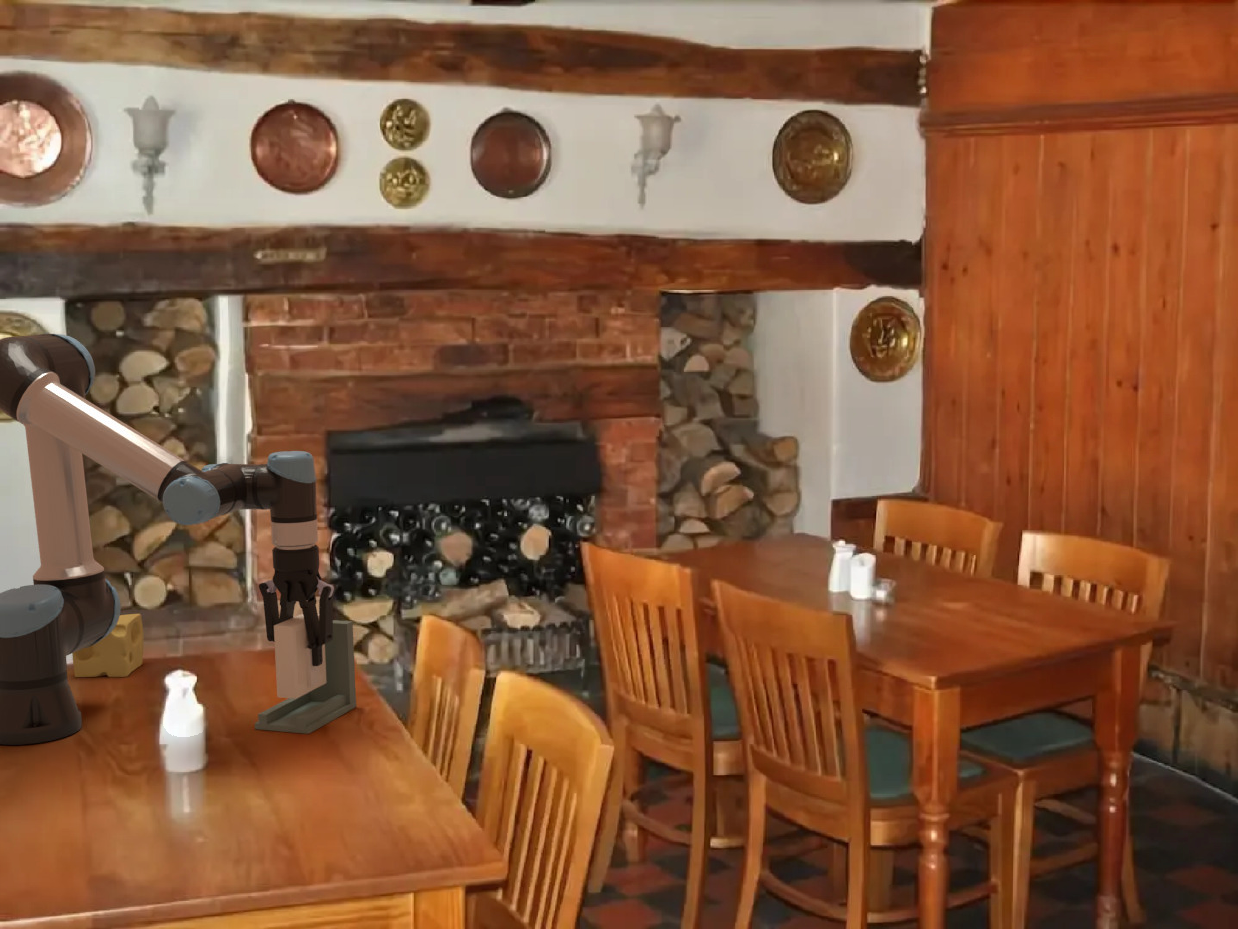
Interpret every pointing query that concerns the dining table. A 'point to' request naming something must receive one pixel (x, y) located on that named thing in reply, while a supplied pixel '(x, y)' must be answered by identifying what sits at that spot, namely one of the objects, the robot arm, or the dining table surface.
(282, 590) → the robot arm
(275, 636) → the door
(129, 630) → the cheese
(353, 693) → the track
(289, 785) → the dining table surface
